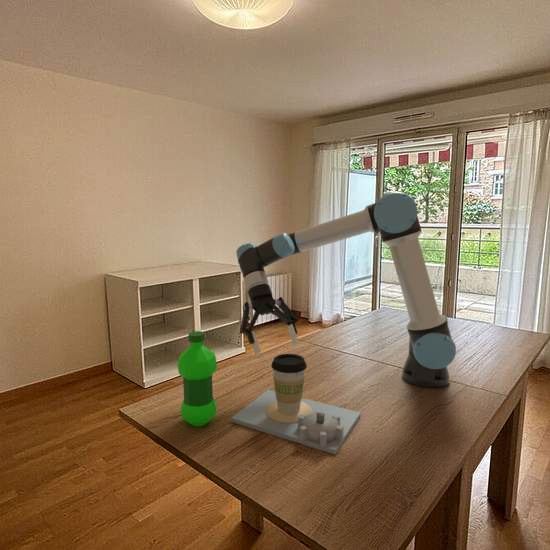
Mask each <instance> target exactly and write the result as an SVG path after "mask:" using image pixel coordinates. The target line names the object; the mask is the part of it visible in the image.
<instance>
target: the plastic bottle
mask: <svg viewBox="0 0 550 550" xmlns="http://www.w3.org/2000/svg"><path fill="white" fill-rule="evenodd" d="M204 341H205V331H201V330H200V331H198V330H196V331H191V332H189V333H188V342H189V343H190V346H189V347H188V348H186V349H185V350H184V351H183V352H181V354H179V357H178V361H177V370H178V373H179V375H180V376H181V377H182V378H183V381H182V382H183V383H182V385H183V400H182V402H181V406H180V407H181V408H180V416H181V417H182V419H183V420H184V421H186V422H187V423H188V424H189V425H191V426H193V427H203V426H206V425H207V424H208V423H209V422H210V421H211V420H212V419H213V418H214V417H215V416H216V414H217V402H216V399H215V397H214V396H213V393H214V391H213V375H214V374H215V372H217V367H218V365H217V357H216V354H215V353H214V352H213V351H212V350H211V349H210V348H208V347H206V346H205V345H204V344H203V342H204Z"/></svg>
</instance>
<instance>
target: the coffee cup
mask: <svg viewBox="0 0 550 550" xmlns="http://www.w3.org/2000/svg"><path fill="white" fill-rule="evenodd" d="M307 367H308V365H307V362H306V361H305V358H304V357H303V356H302V355H299V354H295V353H283V354H282V353H281V354H278V355H276V356H275V357H274V358H273V361H272V362H271V369H272V370H273V372H272V373H273V384H274V385H273V386H274V391H275V393H276V399H277V406H278V411H279V412H280V413H281V414H284V415H295V414H297V413H298V412H299V411H300V404H301V399H302V398H303V391H304V384H305V377H306V376H305V371H306V369H307Z"/></svg>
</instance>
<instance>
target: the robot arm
mask: <svg viewBox="0 0 550 550" xmlns="http://www.w3.org/2000/svg"><path fill="white" fill-rule="evenodd" d="M370 232H371V233H372V234H377V233H379V235H380V237H381V241H382V243H383V244H385V245H387V246H388V248H389V251H390V254H391V258H392V261H393V265H394V269H395V272H396V275H397V279H398V283H399V286H400V290H401V293H402V297H403V300H404V304H405V308H406V311H407V314H408V318H409V322H408V323H407V325H406V329H407V332H408V336H409V338H408V339H409V340H408V341H409V343H408V345H409V346H408V355H407V358H406V360H405V363H404V365H403V367H402V371H401V372H402V373H401V376H402V378H403V380H404V381H406V382H408V383H410V384H412V385H415V386H419V387H422V386H423V387H424V388H430V387H432V389H433V387H437V388H442V386H443V387H446V386H447V385H449V383H450V373H449V370H448V366H449V365H450V364H451V363H453V361H454V359H455V357H456V354H457V347H456V344H455V341H454V340H453V339H452V334H451V331H450V327H449V321H448V317H447V316H446V315H444V314H441V313H439V308H438V305H437V301H436V298H435V294H434V290H433V287H432V283H431V280H430V276H429V273H428V269H427V266H426V262H425V259H424V254H423V251H422V247H421V243H420V241H419V237H420V235H421V234H422V227H421V223H420V219H419V216H418V206H417V204H416V201H415V200H414V199H413V198H412V197H411V195H409V194H407V193H405V192H403V191H391V192H388V193H386V194H383V195H382V196H381V197H380V198H379V199H378V200H377V202H375V203H371V204H369V205H366V206H365V208H364V209H362V210H360V211H356V212H353V213H350V214H348V215H344V216H341V217H337V218H334V219H332V220H329V221H325V222H323V223H319V224H317V225H313V226H310V227H307V228H304V229H301V230H298V231H295V232H292V233H289V234H288V233H286V232H282V233H280V234H278V235H275V236H274V237H272V238H270V239H268V240H266V241H265V242H263V243H261V244H259V245H256V244H255V243H253V242H248V243H245V244H241V245H240V246H239V247H237V249H236V253H235V254H236V257H237V262H238V263H237V264H238V266H239V268H240V271H241V275H242V278H243V281H244V285H245V289H246V290H247V295H248V298H249V301H250V303H249V302H247V301H246V302H245V303H244V304H243V305H242V312H243V313H242V317H241V322H240V327H239V334H241V335H243V334H244V336H246V337H247V340H248V343H249V345H252V348H253V352H254V355H255V356H257V355H259V354H260V353H261V349H260V346H259V343H258V338H257V335H256V332H255V331H253V329H254V327H255V325H256V323H257V322H258V321H257V320H258V319H259V317H260V316H264V315H270V314H272V315H273V316H275V317H277V319H279V320H280V321H282V322H283V323H284V324H286V325H287V328H286V329H287V331H288V334H289V338H290V340H291V344H292V347H296V346H297V345H299V344H300V342H299V339H298V337H297V335H298V331H297V330H298V329H297V327H296V324H297V322H299V321H300V320H299V317H298V316H297V315H296V314H295V313H294V312H293V310H292V309H291V308H290V307H289V306H288V305H287V304H286V303H285V301H284V299H283V297H282V296H279V298H276V299H275V298H274V296H273V292H272V290H271V286H270V285H269V279H268V277H267V275H266V271H265V268H266V267H268V266H270V265H272V264H274V263H277V262H279V261H280V260H283V259H286V258H287V257H290V256H293V255H298V254H301V253H303V252H306V251H309V250H310V251H311V250H313V249H316V248H320V247H323V246H326V245H330V244H333V243H336V242H340V241H342V240H343V241H344V240H346V239H350V238H352V237H357V236H360V235H363V234H366V233H370ZM251 308H252V310H254V313H253V315H252V317H251V320H250V322H249V324H248V319H249V314H250V310H251ZM247 325H248V327H247ZM445 385H446V386H445Z"/></svg>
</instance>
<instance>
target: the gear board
mask: <svg viewBox="0 0 550 550" xmlns="http://www.w3.org/2000/svg"><path fill="white" fill-rule="evenodd" d="M361 416H362V415H361V412H359V411H355V410H351V409H347V408H342V407H339V406H336V405H331V404H327V403H323V402H320V401H316V400H312V399H307V398H303V397H302V399H301V404H300V411H299V412H298V413H297V414H295V415H284V414H281V413H280V412H279V411H278V406H277V399H276V393H275V390H272V389H267V390H266V391H264V392H263V393H262V394H260V395H259V396H258V397H257V398H255V399H254V400H253V401H251V402H250V403H249V404H248V405H246V406H245V407H243V408H242V409H241V410H239V411H238V412H237V413H236V414H234V416H232V417H231V423H234V424H237V425H239V426H244V427H245V428H249V429H253V430H256V431H259V432H261V433H266V434H268V435H272V436H275V437H278V438H282V439H284V440H288V441H289V442H290V441H291V442H295V443H297V444H301V445H303V446H306V447H309V448H313V449H316V450H319V451H323V452H326V453H329V454H332V455H337V453H338V451H340V449H341V447H342V445H343V444H344V442H345V441H346V439H347V438H348V437H349V435H350V433H351V432H352V430H353V429H354V428H355V426H356V424H357V422H358V421H359V420H360V418H361Z"/></svg>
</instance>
